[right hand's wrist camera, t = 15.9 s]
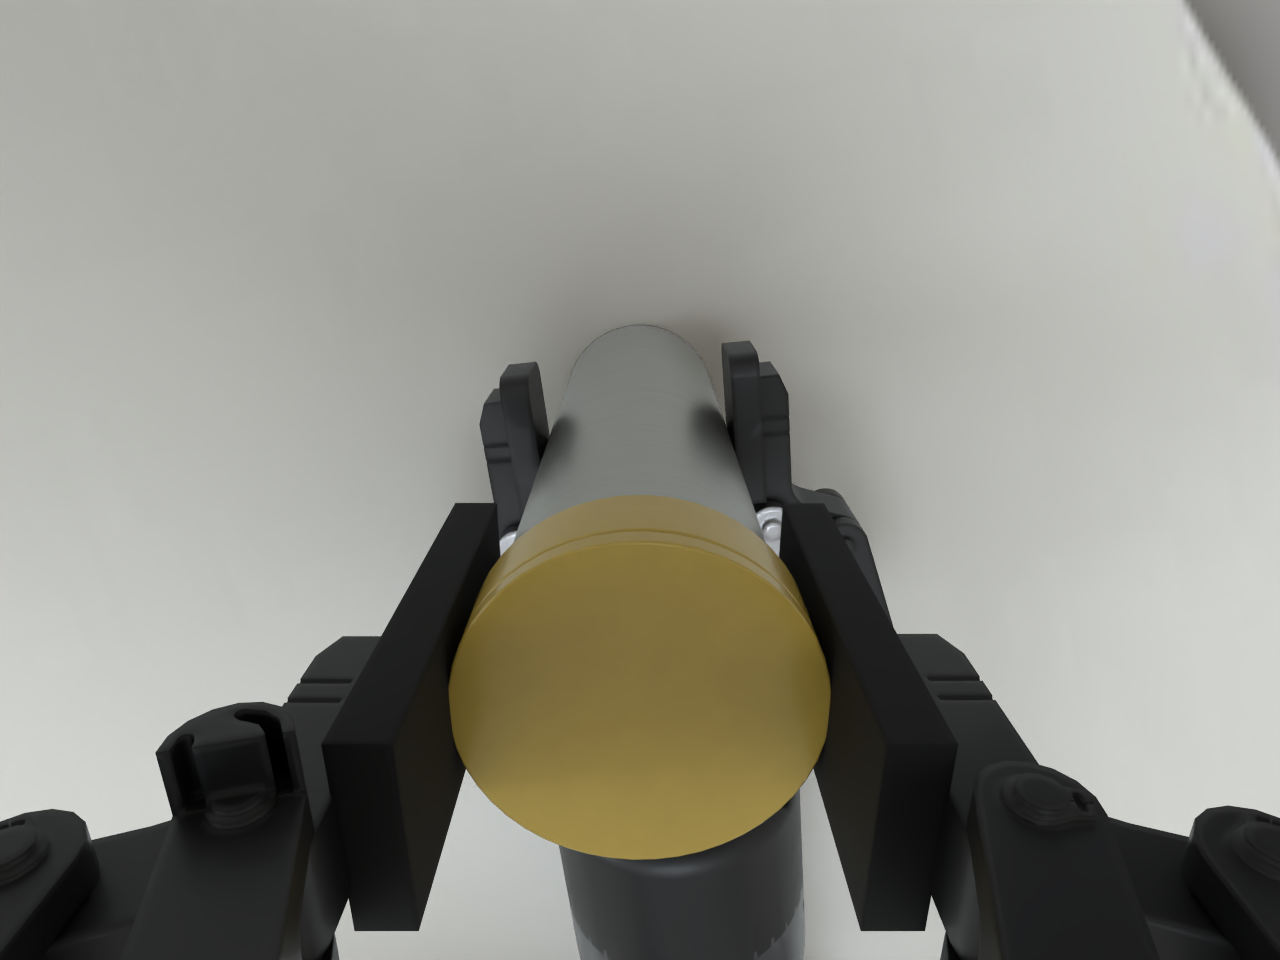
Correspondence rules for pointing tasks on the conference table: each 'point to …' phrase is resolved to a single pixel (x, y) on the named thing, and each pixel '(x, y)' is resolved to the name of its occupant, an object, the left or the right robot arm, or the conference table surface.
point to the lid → (639, 680)
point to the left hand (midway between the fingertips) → (627, 361)
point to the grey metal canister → (639, 431)
